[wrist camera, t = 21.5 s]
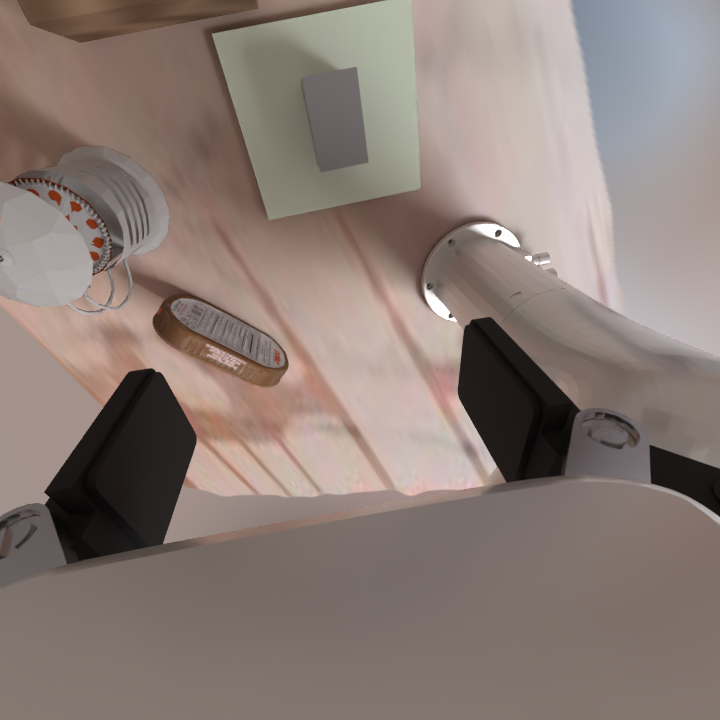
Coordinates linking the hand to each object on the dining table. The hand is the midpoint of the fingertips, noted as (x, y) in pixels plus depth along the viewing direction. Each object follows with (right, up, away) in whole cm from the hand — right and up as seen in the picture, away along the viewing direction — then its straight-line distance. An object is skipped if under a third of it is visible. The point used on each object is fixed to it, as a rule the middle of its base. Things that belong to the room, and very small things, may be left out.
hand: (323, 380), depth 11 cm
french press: (-23, +15, +23) cm, 35 cm away
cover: (-2, +23, +21) cm, 31 cm away
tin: (-14, +5, +31) cm, 35 cm away
